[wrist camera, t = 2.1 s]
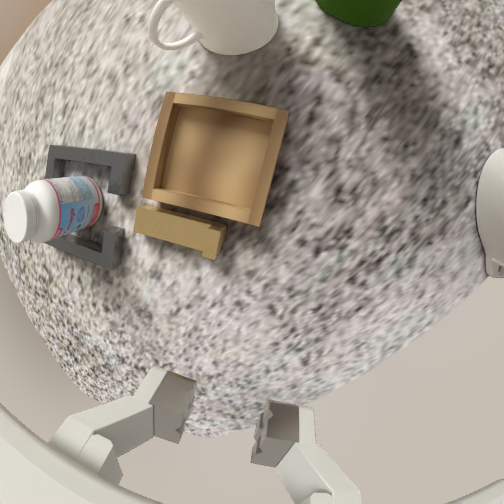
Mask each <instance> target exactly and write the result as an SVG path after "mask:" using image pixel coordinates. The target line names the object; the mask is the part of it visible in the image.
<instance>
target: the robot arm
mask: <svg viewBox="0 0 504 504" xmlns="http://www.w3.org/2000/svg"><path fill="white" fill-rule="evenodd" d="M476 215H477V225H478V230H479V235H480V238H481V241H482V244H483V246H484V249H485V253H486V272H487V274H488V275H489V276H492V277H496V278H504V148H501V149H498V150H496V151H495V152H494V153H492V154H491V156H490V157H489V158H488V160H487V161H486V163H485V165H484V167H483V170H482V173H481V176H480V179H479V184H478V190H477V200H476ZM196 387H197V381H196V380H193V379H190V378H187V377H184V376H182V375H179V374H176V373H174V372H171V371H168V370H165V369H163V368H160V367H158V366H155V365H154V366H153V367H152V368H151V369H150V371H149V372H148V374H147V375H146V377H145V378H144V380H143V382H142V383H141V385H140V386H139V388H138V389H137V391H136V392H135V394H134V396H133V397H132V396H129V395H128V396H125V397H122V398H120V399H117V400H114V401H111V402H109V403H106V404H103V405H100V406H97V407H94V408H91V409H88V410H85V411H82V412H79V413H76V414H73V415H70V416H68V418H67V419H66V420H65V421H64V423H63V424H62V425H61V426H60V428H59V429H58V430H57V432H56V433H55V434H54V436H53V437H52V438H51V440H50V441H49V442H48V443H47V442H45V441H44V440H43V439H41V438H40V437H39V436H37V435H36V434H35V433H34V432H32V431H31V430H30V429H28V427H26V426H25V425H24V424H23V423H21V422H20V421H19V420H18V419H17V418H16V417H15V416H14V415H12V414H11V413H10V412H9V411H8V410H7V409H6V408H5V407H4V406H3V405H2V404H1V403H0V504H163V503H160V502H158V501H155V500H152V499H149V498H147V497H144V496H142V495H139V494H137V493H134V492H132V491H130V490H128V489H125V488H123V487H121V486H119V482H120V480H121V478H122V476H123V474H122V471H121V468H120V466H119V463H118V460H117V457H119V456H121V455H123V454H125V453H127V452H129V451H130V450H132V449H134V448H135V447H137V446H139V445H141V444H143V443H144V442H146V441H148V440H149V439H151V438H153V437H154V436H156V437H159V438H162V439H165V440H168V441H171V442H174V443H177V444H179V441H180V439H181V436H182V434H183V431H184V428H185V422H186V421H187V420H188V418H189V416H190V413H191V410H192V407H193V403H194V398H195V396H194V393H195V390H196ZM254 438H255V440H256V443H255V444H254V446H253V449H252V456H251V463H254V464H259V465H264V466H270V467H276V468H275V469H276V471H277V473H278V475H279V477H280V478H281V480H282V482H283V484H284V486H285V487H286V489H287V491H288V493H289V494H290V496H291V498H292V500H293V501H294V503H295V504H362V502H361V494H360V490H359V489H358V488H357V487H356V486H355V485H354V484H353V482H352V481H351V480H350V479H349V478H348V477H347V476H346V475H345V474H344V472H343V471H342V470H341V469H340V468H339V467H338V465H337V464H336V463H335V462H334V461H333V460H332V458H331V457H330V456H329V455H328V454H327V452H325V450H324V449H323V448H322V447H321V445H316V435H315V422H314V410H313V408H312V407H308V406H302V405H296V404H290V403H284V402H279V401H273V400H268V401H267V402H266V404H265V406H264V413H262V414H261V415H260V417H259V419H258V422H257V425H256V430H255V435H254ZM446 504H504V479H500V480H497V481H495V482H493V483H491V484H489V485H487V486H485V487H483V488H481V489H479V490H477V491H475V492H473V493H470V494H468V495H466V496H464V497H461V498H458V499H456V500H453V501H451V502H448V503H446Z"/></svg>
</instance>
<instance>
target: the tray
mask: <svg viewBox="0 0 504 504" xmlns="http://www.w3.org/2000/svg"><path fill="white" fill-rule="evenodd" d="M288 117H289V111H285V110H281V109H277V108H272V107H268V106H263V105H258V104H253V103H248V102H243V101H237V100H232V99H225V98H219V97H212V96H204V95H196V94H187V93H176V92H166V94H165V97H164V101H163V104H162V108H161V112H160V115H159V119H158V123H157V127H156V131H155V135H154V139H153V144H152V148H151V153H150V157H149V162H148V167H147V172H146V177H145V183H144V188H143V194H142V198H147V199H151V200H155V201H159V202H163V203H168V204H172V205H176V206H180V207H184V208H188V209H192V210H196V211H200V212H204V213H208V214H212V215H216V216H220V217H224V218H228V219H232V220H235V221H239V222H243V223H247V224H251V225H254V226H258V227H259V226H260V224H261V221H262V218H263V214H264V210H265V206H266V203H267V199H268V195H269V191H270V187H271V183H272V180H273V176H274V172H275V168H276V164H277V160H278V157H279V153H280V149H281V145H282V141H283V137H284V133H285V130H286V126H287V122H288Z"/></svg>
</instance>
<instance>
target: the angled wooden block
mask: <svg viewBox="0 0 504 504" xmlns="http://www.w3.org/2000/svg"><path fill="white" fill-rule="evenodd" d="M227 228H228V225H227V224H223V223H219V222H215V221H211V220H207V219H203V218H199V217H196V216H192V215H188V214H184V213H180V212H176V211H172V210H168V209H164V208H160V207H156V206H151V205H147V204H144V205H140V206H137V211H136V218H135V226H134V232H137V233H140V234H144V235H147V236H151V237H154V238H158V239H161V240H165V241H168V242H172V243H175V244H179V245H183V246H186V247H190V248H193V249H197V250H200V251H203V252H202V257H205V258H209V259H212V260H215V259H216V258H217V256H218V255H219V254H220V253H221V251H222V250H223V245H224V241H225V236H226V232H227Z"/></svg>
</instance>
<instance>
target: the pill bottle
mask: <svg viewBox="0 0 504 504" xmlns="http://www.w3.org/2000/svg"><path fill="white" fill-rule="evenodd" d="M101 210H102V194H101V191H100V189H99V187H98V185H97V184H96V183H95V181H94V180H92V179H91V178H89V177H87V176H75V177H63V178H53V179H44V180H37V181H34V182H32V183H30V184H29V185H28V186H27V187H26V188H25V190H19V191H15V192H12V193H10V194H9V195H8V197H7V198H6V201H5V204H4V212H3V215H4V224H5V228H6V231H7V234H8V236H9V237H10V239H11V240H12V241H13V242H15V243H22V242H25V241H29V240H30V239H31V240H33V241H35V242H39V243H43V242H46V241H49V240H52V239H55V238H58V237H60V236H63V235H66V234H69V233H72V232H75V231H78V230H81V229H84V228H87V227H89V226H91V225H93V224H94V223H95V222H96V221H97V220H98V218H99V216H100V214H101Z"/></svg>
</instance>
